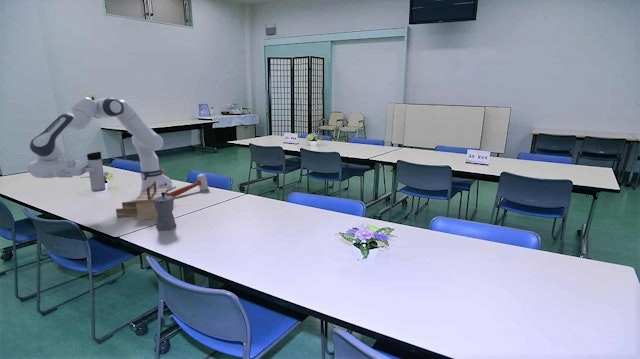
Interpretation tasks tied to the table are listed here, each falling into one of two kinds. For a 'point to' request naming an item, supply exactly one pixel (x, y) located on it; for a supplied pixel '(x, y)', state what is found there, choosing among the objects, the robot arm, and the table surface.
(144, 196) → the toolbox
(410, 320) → the table surface
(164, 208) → the coffeepot
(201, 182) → the mallet
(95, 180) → the travel mug
